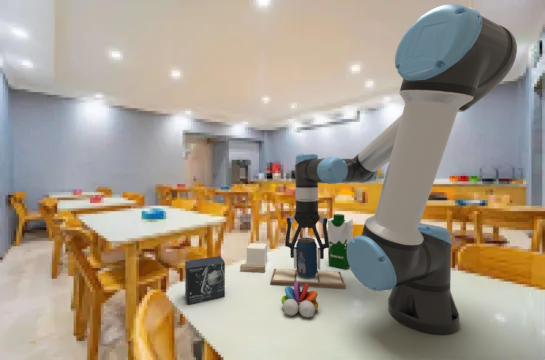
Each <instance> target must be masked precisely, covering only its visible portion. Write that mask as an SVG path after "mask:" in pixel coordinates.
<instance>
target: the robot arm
mask: <svg viewBox="0 0 545 360" xmlns="http://www.w3.org/2000/svg"><path fill="white" fill-rule="evenodd" d="M517 54H518V44H517V41H516V39H515V36H514V34H513V33H512V32H511V31H510V30H509V29H507V28H506V27H504V26H503V25H501V24H497V23H496V22H494V21H492V20H490V19H489V18H487V17H484V16H483V15H481V14H480V12H479V11H478V10H477V9H474V8H473V7H467V6H464V5H461V4H459V3H446V4H443V5H439V6H437V7H435V8H432V9H431V10H428V11H427V12H425V13H423V15H421V16H420V17H418V18H417V20H416V21H415V23H414V24H412V25H410V27H409V28H408V29H406V32H405V33H404V34H403V36H402V37H401V39H400V40H399V43H398V45H397V48H396V51H395V56H394V65H395V66H394V67H395V68H396V69H397V74H398V75H399V76H400V77H401V79H402V82H401V86H400V89H399V95H400V97H401V98H402V100H403V101H404V107H403V110H402V114H400V115H399V117H397V118H396V119H395V120H394V121H393V122H392V123H391V124H390V125H389V126H387V127H386V128H385V129H384V130H383V131H382V132H381V133H380V134H378V136H377V137H375V139H373V141H371V142H370V143H369V144H368V145H367V146H365V148H363V149H362V150H361V151H360V152H359V153H358V154H357V155H355V156H353V158H340V157H337V156H335V157H334V156H333V157H332V156H329V157H328V156H327V157H325V158H319V155H318V154H317V153H298V154H297V155H296V156H295V164H294V168H295V169H294V171H295V175H294V176H295V177H294V178H295V190H294V192H295V214H294V216H287V217H286V224H287V227H286V236H285V242H284V246H285V247H286V248H289V249H290V250H289V251H290V253H289V254H290V258H292V259H293V270H297V266H296V244H297V242H298V239H299V236H300V233H301V231H302V229H307V228H308V229H311V230H312V232H313V234H314V236H315V240H316V241H317V245H318V247H317V271H321V260H324V257H325V256H324V255H325V254H324V252H325V251H324V250H325V249H328V248H329V240H328V220H329V219H328V218H327V217H326V216H323V217H322V216H320V215H319V201H318V199H319V184H328V185H336V184H341V183H343V184H344V183H345V184H347V183H349V184H350V183H361V184H362V183H369V182H372V181H373V180H375V179H376V176H377V175H378V171H379V170H380V169H381V168H382V167H384V166H385V165H386V164H388V165H387V168H386V173H385V177H384V179H383V184H382V187H381V190H380V194H379V197H378V201H377V205H376V209H375V212H374V215H372V216H369V217H368V218H366V219H365V221H364V225H363V227H362V228H363V229H362V230H361V231H362V232H361V234H358V235H355V236H354V237H353V238H352V239H351V240H350V241H349V243H348V246H347V259H348V263H349V265H350V266H349V268H350V270H351V272H352V274H353V276H354V277H355V279H356V280H357V281H359V283H360V284H361V285H363V286H364V287H365V288H367V289H369V290H371V291H375V292H382V291H387V290H388V291H390V290H391V291H390V294H389V297H388V300H387V301H388V302H387V310H388V312H389V314H390V315H391V316H392V317H393V318H394V319H395V320H396V321H398V322H400V323H401V324H403V325H404V326H407V327H408V328H411V329H413V330H416V331H420V332H423V333H428V334H431V335H449V334H454V333H455V332H458V330H459V329H460V314H459V311H458V308H457V306H456V303H455V300H454V296H453V294H452V291H451V279H452V277H451V274H452V273H451V271H452V270H451V269H452V268H451V267H452V246H453V243H452V239H451V232H450V230H448V229H447V228H445V227H443V226H440V225H439V226H438V225H434V224H428V223H421V221H422V218H423V216H424V212H425V209H426V206H427V203H428V202H429V201H428V200H429V198H430V195H431V192H432V189H433V185H434V182H435V179H436V177H437V173H438V171H439V169H440V165H441V161H442V159H443V156H444V154H445V151H446V147H447V145H448V141H449V139H450V135H451V133H452V129H453V126H454V125H455V124H454V123H455V121H456V117H457V115H458V113H464V112H465V111H467V110H468V109H470V108H471V107H472V106H474V105H475V104H476V103H479V101H480V100H482V99H483V98H485V97H486V96H487V95H488V94H489V93H491V92H492V91H493V90H494V89H495V88H497V87H498V85H499V84H500V83H501V82H502V81H504V79H505V78H506V76H507V75H508V74H509V73H510V71H511V70H512V68H513V66H514V63H515V61H516V59H517ZM294 220H295V222H296V223H297V224H298V225H297V228H296V230H295V232H294V235H293V238H292V241H291V242H290V239H291V231H292V224H293V223H294ZM319 221H320V223H321V225H322V226H321V227H322V232H323V239H324V243H323V242H322V239H321V236H320V234H319V232H318V229H317V227H316V224H317V223H318V222H319Z"/></svg>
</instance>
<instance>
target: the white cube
mask: <svg viewBox="0 0 545 360" xmlns="http://www.w3.org/2000/svg"><path fill="white" fill-rule="evenodd" d="M267 262H268V243H258V242H257V243H254V242H253V243H252V242H251V243H249V245H248V246H247V247H246V264H249V265H265V266H266V264H267Z"/></svg>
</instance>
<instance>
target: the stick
mask: <svg viewBox="0 0 545 360" xmlns="http://www.w3.org/2000/svg"><path fill="white" fill-rule="evenodd" d="M239 271H240V272H242V273H244V272H245V273H260V274H261V273H265V272H266V264H265V265H249V264H247V263H246V264H245V263H244V264H243V263H241V264H240V266H239Z"/></svg>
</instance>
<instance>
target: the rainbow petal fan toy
mask: <svg viewBox="0 0 545 360" xmlns="http://www.w3.org/2000/svg"><path fill="white" fill-rule="evenodd" d="M309 288H310V287H309V284H308V283H306V284H305V285H304V287H302V290H301V286H300V285H299V283H298V282H295V283H294V286H285V287H284V293H285V295H283V296H282V297H281V299H280V300H281V301H280V302H281V304H282V309H283V311H284V313H285V314H286V315H287V316H289V317H290V316H295V315H296V314H297V313H298V312H299V313H300V315H301V316H303V317H304V318H311V317H313V316H314V314H315V312H316V310H318V308H319V302H318V301H317V297H318V292H317V291H316V290H309Z"/></svg>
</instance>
